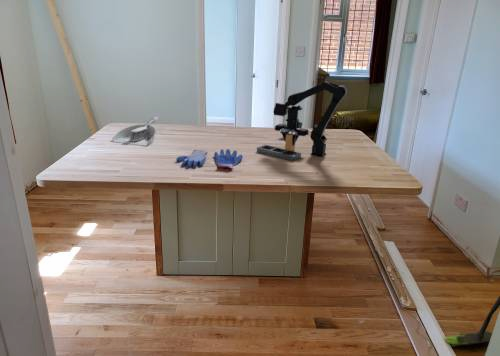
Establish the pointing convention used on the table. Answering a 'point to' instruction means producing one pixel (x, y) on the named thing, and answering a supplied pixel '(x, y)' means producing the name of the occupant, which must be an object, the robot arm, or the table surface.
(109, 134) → the table surface
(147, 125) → the dustpan and brush
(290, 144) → the orange peg
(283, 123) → the wall hook
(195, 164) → the pair of gloves
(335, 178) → the table surface
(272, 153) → the rail
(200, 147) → the table surface
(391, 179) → the table surface
